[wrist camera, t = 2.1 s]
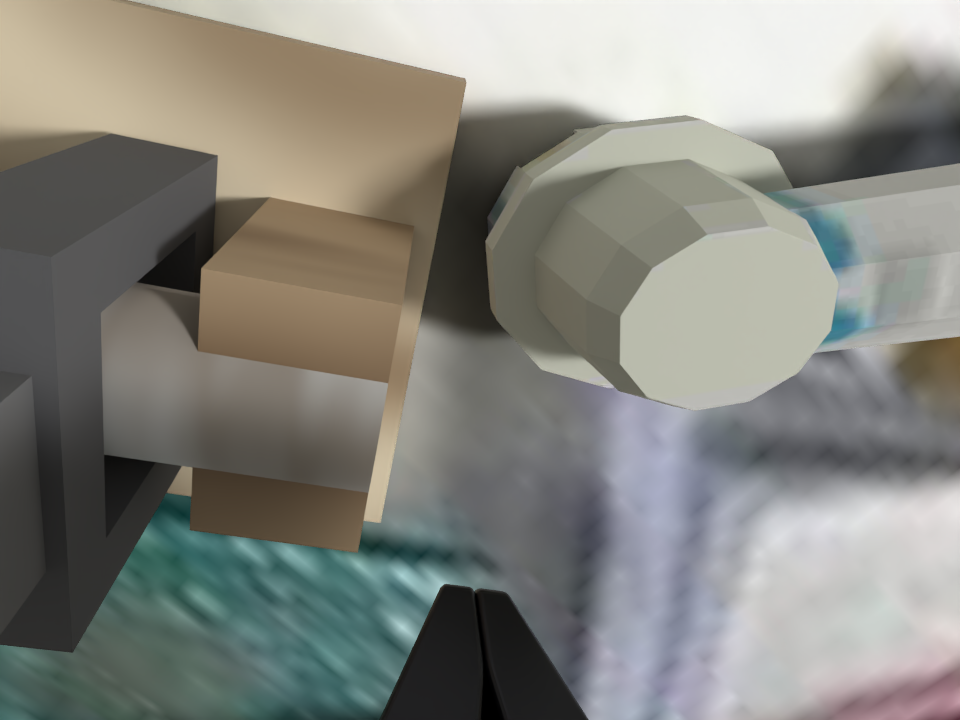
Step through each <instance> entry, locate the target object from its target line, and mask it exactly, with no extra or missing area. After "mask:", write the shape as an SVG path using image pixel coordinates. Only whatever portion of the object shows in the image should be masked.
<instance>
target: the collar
mask: <svg viewBox="0 0 960 720" xmlns="http://www.w3.org/2000/svg"><path fill="white" fill-rule="evenodd" d="M217 166H218V155H214V154H209V153H204V152H199V151H194V150H189V149H185V148H180V147H175V146H170V145H165V144H160V143H155V142H151V141H146V140H141V139H136V138H131V137H126V136H121V135H117V134H112V133H111V134H108V135H105V136H102V137H99V138H96V139H93V140H91V141H88V142H85V143H82V144H79V145H76V146H73V147H70V148H68V149H65V150H62V151H59V152H56V153H53V154H50V155H47V156H45V157H42V158H39V159H36V160H33V161H30V162H27V163H24V164H22V165H19V166H16V167H13V168H10V169H7V170H4V171H1V172H0V645H8V646H17V647H27V648H36V649H45V650H54V651H63V652H73V651H74V650H75V648H76V646H77V644H78V643H79V641H80V639H81V638H82V636H83V634H84V632H85V631H86V629H87V627H88V626H89V624H90V622H91V621H92V619H93V617H94V615H95V614H96V612H97V610H98V609H99V607H100V605H101V603H102V602H103V600H104V598H105V597H106V595H107V593H108V592H109V590H110V588H111V586H112V585H113V583H114V581H115V580H116V578H117V576H118V574H119V573H120V571H121V569H122V568H123V566H124V564H125V563H126V561H127V559H128V557H129V556H130V554H131V552H132V551H133V549H134V547H135V545H136V544H137V542H138V540H139V539H140V537H141V535H142V534H143V532H144V530H145V528H146V527H147V525H148V523H149V522H150V520H151V518H152V516H153V515H154V513H155V511H156V510H157V508H158V506H159V505H160V503H161V501H162V499H163V498H164V496H165V494H166V493H167V491H168V489H169V487H170V486H171V484H172V482H173V481H174V479H175V477H176V476H177V474H178V472H179V470H180V469H181V467H182V466H179V465H172V464H165V463H158V462H151V461H145V460H138V459H131V458H124V457H117V456H110V455H104V432H103V389H102V346H101V312H102V311H103V310H105V309H106V308H107V307H108V306H109V305H110V304H112V303H113V302H114V301H115V300H116V299H117V298H119V297H120V296H121V295H122V294H123V293H124V292H126V291H127V290H128V289H129V288H130V287H131V286H133V285H134V284H135V283H136V282H137V283H143V284H149V285H154V286H160V287H165V288H171V289H177V290H182V291H188V292H193V293H199V294H200V287H201V268H202V267H203V266H204V265H205V264H206V263H207V262H208V261H209V260H210V259H211V258H212V257H213V244H214V224H215V205H216V185H217Z"/></svg>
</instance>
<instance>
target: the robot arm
mask: <svg viewBox="0 0 960 720" xmlns="http://www.w3.org/2000/svg"><path fill="white" fill-rule="evenodd" d="M380 720H588V718H587V717H586V715H585V713H584V712H583V710H582V709H581V707H580V706H579V704H578V703H577V701H576V699H575V698H574V696H573V695H572V693H571V692H570V690H569V688H568V687H567V685H566V684H565V682H564V681H563V679H562V677H561V676H560V674H559V673H558V671H557V670H556V668H555V666H554V665H553V663H552V662H551V660H550V659H549V657H548V655H547V654H546V652H545V651H544V649H543V648H542V646H541V644H540V643H539V641H538V640H537V638H536V637H535V635H534V633H533V632H532V630H531V629H530V627H529V626H528V624H527V623H526V621H525V619H524V618H523V616H522V615H521V613H520V612H519V610H518V608H517V607H516V605H515V604H514V602H513V601H512V599H511V597H510V596H509V595H508V594H507V593H505V592H503V591H496V590H489V589H477V590H475V592H474V591H473V589H472V588H470V587H465V586H458V585H450V584H445V585H443V586H442V587H441V588H440V590H439V592H438V594H437V596H436V599H435V601H434V603H433V605H432V607H431V609H430V612H429V614H428V616H427V618H426V620H425V622H424V625H423V627H422V629H421V631H420V633H419V635H418V638H417V640H416V642H415V644H414V646H413V648H412V651H411V653H410V655H409V657H408V659H407V661H406V664H405V666H404V668H403V670H402V672H401V674H400V677H399V679H398V681H397V683H396V685H395V687H394V690H393V692H392V694H391V696H390V698H389V700H388V703H387V705H386V707H385V709H384V711H383V713H382V716H381V718H380Z"/></svg>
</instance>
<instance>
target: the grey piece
mask: <svg viewBox="0 0 960 720" xmlns="http://www.w3.org/2000/svg"><path fill="white" fill-rule="evenodd" d="M487 221H488V235H489V236H488V237H487V239H486V241H485V243H486V256H487V270H488V283H489V296H490V308H491V310H492V312H493V314H494V316H495V318H496V320H497V321H498V322H499V323H500V324H501V326H502V327H503V328H504V329H505V330H506V331H507V332H508V333H509V334H510V335H511V337H512V338H513V339H514V340H515V341H516V342H517V343H518V344H519V345H520V347H521V348H522V349H523V350H524V351H525V352H526V353H527V354H528V355H529V356H530V358H531V359H532V360H533V361H534V362H535V363H536V364H537V365H538V366H539V367H540V369H541V370H544V371H548V372H551V373H555V374H559V375H562V376H566V377H569V378H573V379H577V380H580V381H584V382H587V383H591V384H595V385H598V386H602V387H605V388H609V389H612V388H616V389H617V390H618V391H621V392H624V393H628V394H631V395H635V396H639V397H642V398H646V399H649V400H653V401H657V402H660V403H664V404H667V405H671V406H675V407H680V408H684V409H689V410H694V411H696V410H702V409H708V408H714V407H720V406H726V405H732V404H738V403H744V402H749V401H751V400H753V399H754V398H756V397H758V396H759V395H761V394H763V393H764V392H766V391H768V390H770V389H771V388H773V387H775V386H776V385H778V384H780V383H782V382H783V381H785V380H787V379H788V378H790V377H792V376H793V375H795V374H797V373H798V372H799V371H800V370H801V368H802V367H803V366H804V365H805V363H806V362H807V361H808V359H809V358H810V357H811V355H812V354H813V353H816V352H825V351H834V350H843V349H852V348H861V347H870V346H878V345H887V344H896V343H905V342H914V341H923V340H932V339H941V338H950V337H959V336H960V163H959V164H952V165H946V166H939V167H933V168H926V169H920V170H913V171H907V172H900V173H894V174H887V175H880V176H874V177H867V178H861V179H854V180H848V181H841V182H835V183H828V184H822V185H815V186H808V187H802V188H795V189H794V188H793V186H792V185H791V183H790V181H789V179H788V177H787V176H786V174H785V172H784V170H783V168H782V167H781V165H780V163H779V161H778V159H777V158H776V156H775V154H774V152H773V151H772V150H770V149H767V148H765V147H763V146H761V145H758V144H756V143H754V142H752V141H749V140H747V139H745V138H742V137H740V136H738V135H736V134H733V133H731V132H729V131H727V130H724V129H722V128H720V127H717V126H715V125H713V124H711V123H708V122H706V121H704V120H701V119H697V118H694V117H690V116H686V115H685V116H675V117H666V118H657V119H648V120H639V121H630V122H621V123H612V124H603V125H599V126H597V127H592V128H583V129H574V130H573V135H572V136H570V137H569V138H567V139H566V140H564V141H563V142H561V143H559V144H558V145H556V146H555V147H553V148H552V149H550V150H548V151H547V152H545V153H544V154H542V155H541V156H539V157H537V158H536V159H534V160H533V161H531V162H530V163H528V164H526V165H525V166H523V167H522V168H520V167H519V166H516V168H515V170H514V171H513V173H512V175H511V177H510V179H509V180H508V182H507V184H506V186H505V187H504V189H503V191H502V193H501V194H500V196H499V198H498V200H497V201H496V203H495V205H494V207H493V208H492V210H491V212H490V214H489V216H488V217H487Z"/></svg>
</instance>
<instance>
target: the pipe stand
mask: <svg viewBox="0 0 960 720" xmlns="http://www.w3.org/2000/svg"><path fill="white" fill-rule="evenodd" d="M465 87H466V80H465V78H460V77H456V76H452V75H447V74H443V73H439V72H434V71H430V70H426V69H421V68H417V67H413V66H409V65H404V64H400V63H396V62H391V61H387V60H383V59H378V58H374V57H370V56H365V55H361V54H357V53H352V52H348V51H344V50H339V49H335V48H331V47H326V46H322V45H318V44H314V43H309V42H305V41H301V40H296V39H292V38H288V37H283V36H279V35H275V34H270V33H266V32H262V31H257V30H253V29H249V28H244V27H240V26H236V25H231V24H227V23H223V22H219V21H214V20H210V19H206V18H201V17H197V16H193V15H188V14H184V13H180V12H175V11H171V10H167V9H162V8H158V7H154V6H149V5H145V4H141V3H137V2H132V1H128V0H0V172H1V171H4V170H7V169H10V168H13V167H16V166H19V165H22V164H24V163H27V162H30V161H33V160H36V159H39V158H42V157H45V156H47V155H50V154H53V153H56V152H59V151H62V150H65V149H68V148H70V147H73V146H76V145H79V144H82V143H85V142H88V141H91V140H93V139H96V138H99V137H102V136H105V135H108V134H111V133H112V134H117V135H121V136H126V137H131V138H136V139H141V140H146V141H151V142H155V143H160V144H165V145H170V146H175V147H180V148H185V149H189V150H194V151H199V152H204V153H209V154H214V155H218V166H217V185H216V205H215V224H214V244H213V257H212V258H211V259H210V260H209V261H208V262H207V263H206V264H205V265H204V266H203V267H202V268H201V287H200V294H199V293H193V292H188V291H182V290H177V289H171V288H165V287H160V286H154V285H149V284H143V283H137V282H136V283H135V284H134V285H133V286H131V287H130V288H129V289H128V290H127V291H126V292H124V293H123V294H122V295H121V296H120V297H119V298H117V299H116V300H115V301H114V302H113V303H112V304H110V305H109V306H108V307H107V308H106V309H105V310H103V311H102V312H101V346H102V389H103V432H104V455H110V456H117V457H124V458H131V459H138V460H145V461H151V462H158V463H165V464H172V465H179V466H182V467H181V469H180V470H179V472H178V474H177V476H176V477H175V479H174V481H173V482H172V484H171V486H170V487H169V489H168V491H167V493H171V494H178V495H185V496H191V514H190V530H193V531H200V532H208V533H215V534H222V535H230V536H237V537H245V538H252V539H260V540H267V541H275V542H282V543H290V544H297V545H304V546H312V547H319V548H327V549H334V550H342V551H349V552H357V553H358V548H359V542H360V537H361V531H362V526H363V521H370V522H377V523H380V522H381V517H382V512H383V507H384V502H385V497H386V492H387V487H388V481H389V476H390V471H391V466H392V461H393V456H394V451H395V446H396V440H397V435H398V430H399V425H400V420H401V415H402V410H403V405H404V399H405V394H406V389H407V384H408V379H409V374H410V369H411V364H412V359H413V353H414V348H415V343H416V338H417V333H418V328H419V323H420V318H421V312H422V307H423V302H424V297H425V292H426V287H427V282H428V277H429V271H430V266H431V261H432V256H433V251H434V246H435V241H436V236H437V230H438V225H439V220H440V215H441V210H442V205H443V200H444V195H445V189H446V184H447V179H448V174H449V169H450V164H451V159H452V154H453V148H454V143H455V138H456V133H457V128H458V123H459V118H460V113H461V108H462V102H463V97H464V92H465Z"/></svg>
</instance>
